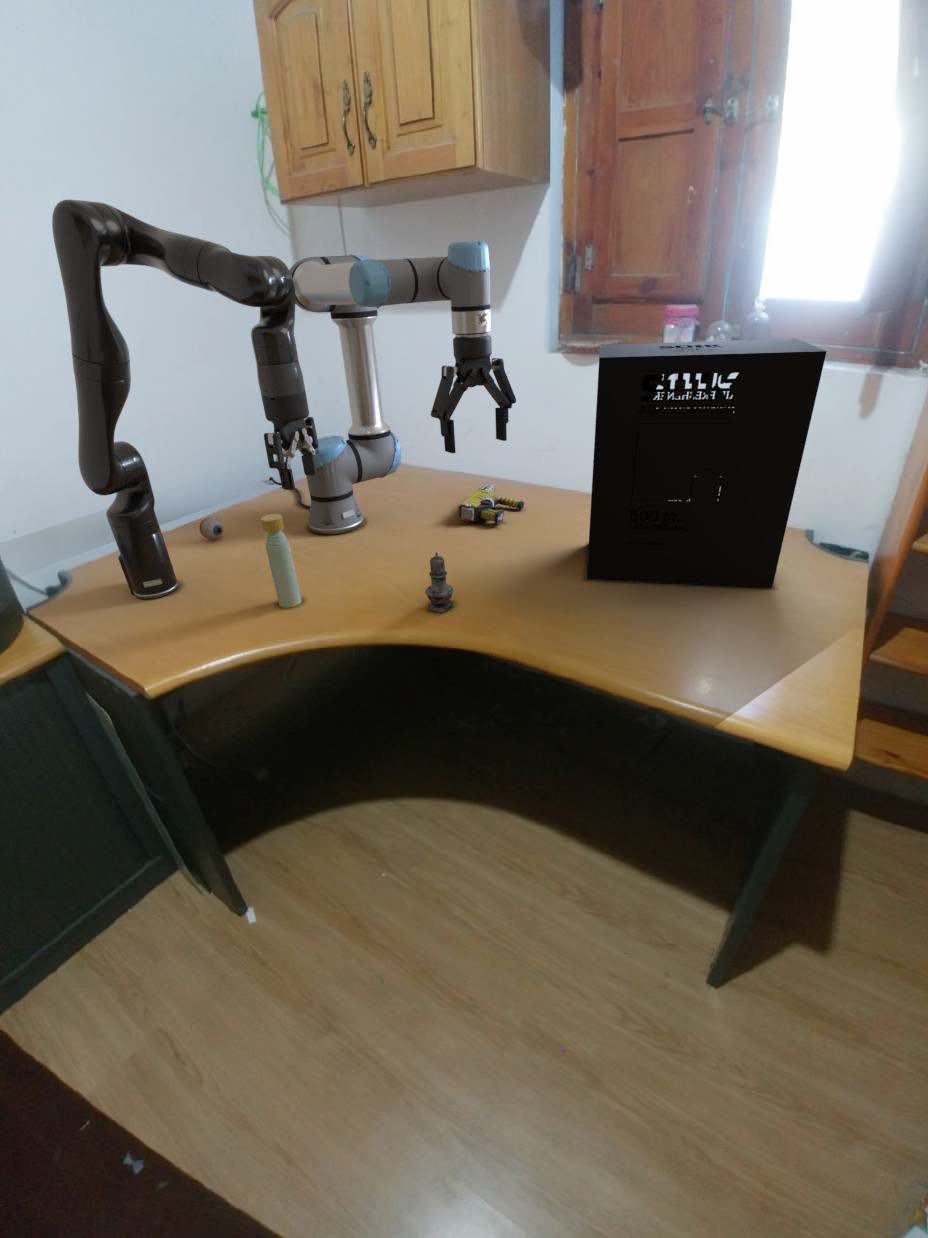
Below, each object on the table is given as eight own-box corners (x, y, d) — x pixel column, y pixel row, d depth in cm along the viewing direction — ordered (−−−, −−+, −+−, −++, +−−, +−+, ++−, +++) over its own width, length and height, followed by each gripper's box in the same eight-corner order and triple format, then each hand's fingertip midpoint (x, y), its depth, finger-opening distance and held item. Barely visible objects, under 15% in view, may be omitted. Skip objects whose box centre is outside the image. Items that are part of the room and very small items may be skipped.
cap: (259, 530, 121) (256, 518, 120) (275, 523, 124) (272, 512, 123) (272, 533, 119) (269, 522, 118) (288, 527, 122) (286, 515, 121)
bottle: (274, 604, 130) (254, 520, 120) (291, 595, 133) (273, 513, 124) (289, 609, 127) (270, 524, 118) (306, 600, 131) (288, 517, 121)
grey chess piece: (451, 613, 122) (447, 559, 116) (423, 611, 123) (418, 558, 117) (457, 599, 127) (454, 547, 121) (430, 598, 128) (425, 546, 122)
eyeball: (213, 544, 161) (207, 523, 158) (198, 540, 164) (191, 520, 161) (231, 536, 165) (225, 516, 162) (216, 533, 168) (210, 512, 165)
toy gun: (532, 488, 178) (484, 481, 182) (510, 513, 158) (457, 504, 162) (530, 504, 181) (483, 496, 185) (509, 529, 161) (456, 520, 165)
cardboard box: (752, 548, 142) (795, 338, 119) (772, 587, 124) (826, 351, 102) (589, 543, 149) (600, 344, 127) (586, 579, 132) (599, 357, 110)
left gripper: (284, 383, 111) (300, 470, 119) (240, 398, 99) (262, 493, 107) (321, 382, 109) (335, 471, 117) (281, 397, 97) (300, 495, 105)
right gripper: (429, 342, 108) (437, 460, 118) (533, 329, 120) (532, 437, 131) (407, 340, 113) (417, 454, 124) (508, 328, 125) (510, 432, 136)
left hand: (300, 481), depth 112 cm, fingers open, 8 cm apart
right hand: (476, 445), depth 127 cm, fingers open, 13 cm apart
